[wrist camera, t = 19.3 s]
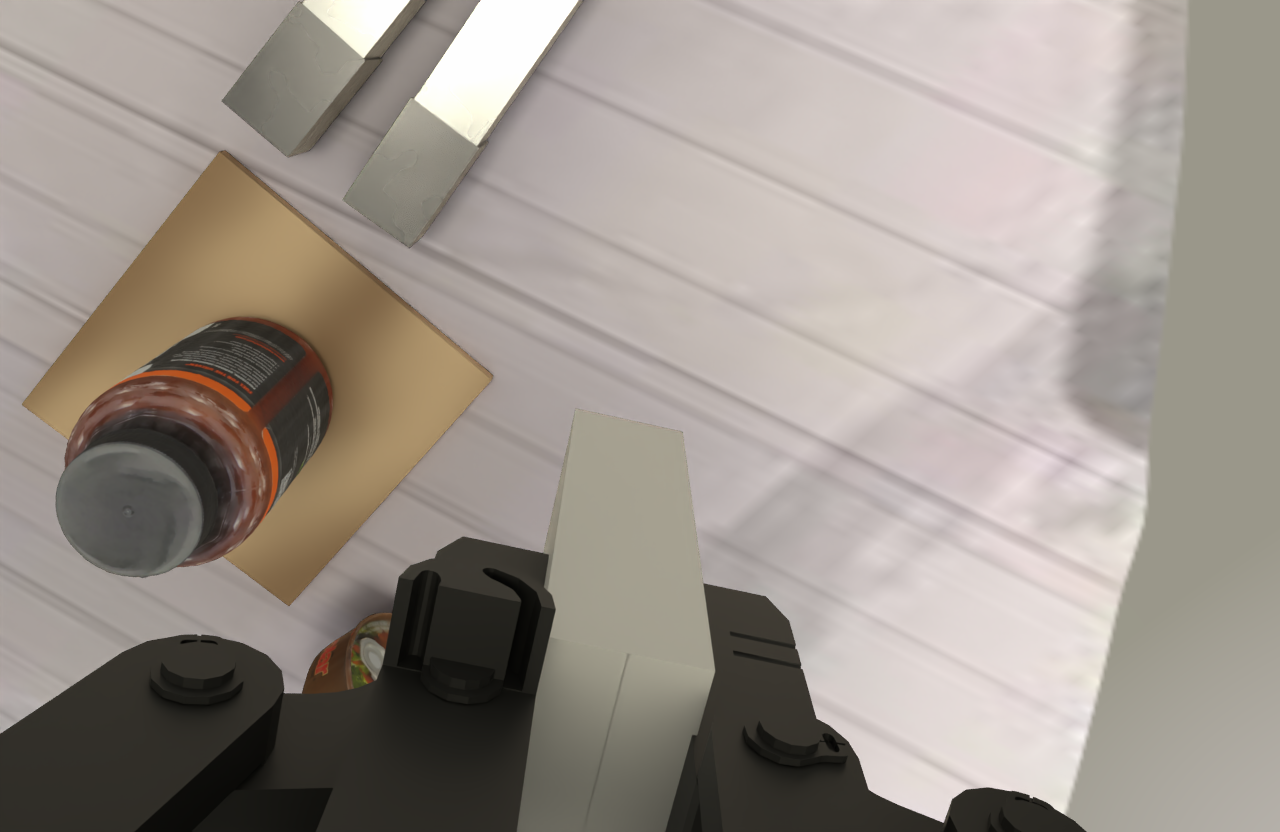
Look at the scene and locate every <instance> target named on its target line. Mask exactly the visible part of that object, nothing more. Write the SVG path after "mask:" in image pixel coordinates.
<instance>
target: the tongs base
mask: <svg viewBox="0 0 1280 832" xmlns="http://www.w3.org/2000/svg"><path fill="white" fill-rule="evenodd" d="M425 2H426V0H305V1H304V2H298V3H297V4H296V6H295V7H294V8H293V9H292V11H291V12H290V13H289V15H288V16H287V17H286V19H285V20H284V21H283V22H282V24H281V25H280V26H279V28H278V29H277V30H276V31H275V33H274V34H273V35H272V37H271V38H270V39H269V40H268V42H267V43H266V44H265V46H264V47H263V48H262V50H261V51H260V52H259V53H258V55H257V56H256V57H255V59H254V60H253V61H252V62H251V64H250V65H249V66H248V68H247V69H246V70H245V71H244V73H243V74H242V75H241V77H240V78H239V79H238V81H237V82H236V83H235V84H234V86H233V87H232V88H231V90H230V91H229V92H228V93H227V95H226V96H225V97H224V99H223V100H222V102H223V103H224V104H225V105H227V106H228V107H229V108H230V109H231V110H232V111H234V112H235V113H236V114H237V115H238V116H240V117H241V118H242V119H243V120H244V121H245V122H247V123H248V124H249V125H250V126H251V127H252V128H254V129H255V130H256V131H257V132H258V133H260V134H261V135H262V136H263V137H264V138H265V139H267V140H268V141H269V142H270V143H271V144H272V145H274V146H275V147H276V148H277V149H278V150H280V151H281V152H282V153H283V154H284V155H285V156H287V157H291V156H294V155H298V154H301V153H304V152H307V151H310V150H311V148H312V147H313V146H314V145H315V143H316V142H317V141H318V140H319V138H320V137H321V136H322V135H323V133H324V132H325V131H326V130H327V129H328V127H329V126H330V125H331V124H332V122H333V121H334V120H335V119H336V117H337V116H338V115H339V114H340V112H341V111H342V110H343V109H344V107H345V106H346V105H347V104H348V102H349V101H350V100H351V99H352V97H353V96H354V95H355V94H356V92H357V91H358V90H359V89H360V87H361V86H362V85H363V84H364V82H365V81H366V80H367V79H368V78H369V76H370V75H371V74H372V73H373V71H374V70H375V69H376V68H377V66H378V65H379V64H380V63H381V61H382V59H381V56H382V55H383V54H384V53H385V51H386V50H387V49H388V48H389V46H390V45H391V44H392V43H393V41H394V40H395V39H396V38H397V36H398V35H399V34H400V33H401V31H402V30H403V29H404V28H405V26H406V25H407V24H408V23H409V21H410V20H411V19H412V18H413V16H414V15H415V14H416V13H417V11H418V10H419V9H420V8H421V7H422V5H423V4H424V3H425Z"/></svg>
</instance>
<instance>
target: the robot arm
mask: <svg viewBox="0 0 1280 832" xmlns="http://www.w3.org/2000/svg"><path fill="white" fill-rule="evenodd" d="M795 646H796V644H795V640H794V637H793V633H792V630H791V626H790V622H789V620H788V619H787V618H786V617H785V616H784V615H783V614H782V613H781V612H780V611H779V610H778V609H777V608H776V607H775V606H774V605H773V603H772V602H771V601H770V600H769V599H768V598H767V597H766V596H761V595H756V594H751V593H747V592H742V591H737V590H732V589H728V588H723V587H718V586H713V585H708V584H704V583H703V578H702V571H701V563H700V556H699V549H698V541H697V534H696V527H695V520H694V512H693V505H692V498H691V490H690V483H689V476H688V468H687V461H686V454H685V447H684V439H683V432H681V431H676V430H672V429H667V428H663V427H658V426H654V425H649V424H644V423H640V422H635V421H631V420H626V419H622V418H617V417H612V416H608V415H603V414H599V413H594V412H590V411H585V410H580V409H575V414H574V418H573V423H572V427H571V432H570V436H569V441H568V445H567V449H566V454H565V458H564V463H563V467H562V472H561V476H560V480H559V485H558V489H557V494H556V498H555V503H554V507H553V512H552V516H551V520H550V525H549V529H548V534H547V538H546V543H545V547H544V551H543V553H539V552H534V551H530V550H525V549H520V548H515V547H510V546H506V545H501V544H496V543H491V542H487V541H482V540H477V539H472V538H467V537H461V538H460V539H458V540H456V541H454V542H453V543H451V544H449V545H448V546H446V547H444V548H442V549H441V550H439V551H438V552H437V554H436V557H435V559H429V560H426V561H423V562H420V563H417V564H414V565H411V566H410V567H409V568H408V569H407V570H406V571H405V572H404V573H403V574H402V575H401V576H400V577H399V579H398V585H397V590H396V595H395V601H394V606H393V611H392V616H391V622H390V627H389V632H388V638H387V643H386V648H385V654H384V659H383V664H382V667H381V670H380V672H379V675H378V677H377V680H375V681H373V682H371V683H368V684H366V685H363V686H361V687H358V688H354V689H349V690H345V691H340V692H332V693H315V694H285V693H284V683H283V677H282V671H281V670H280V669H279V667H278V666H277V665H276V664H275V663H274V662H273V661H272V660H271V659H270V658H269V657H268V656H267V655H266V654H264V653H262V652H260V651H258V650H256V649H254V648H252V647H249V646H247V645H245V644H243V643H240V642H235V641H231V640H226V639H222V638H220V637H217V636H209V635H201V636H197V635H179V636H174V637H168V638H162V639H157V640H151V641H147V642H144V643H142V644H140V645H138V646H136V647H133V648H131V649H129V650H127V651H124V652H122V653H121V654H119V655H118V656H116V657H115V658H113V659H112V660H110V661H109V662H107V663H106V664H104V665H103V666H101V667H100V668H98V669H97V670H95V671H94V672H92V673H91V674H89V675H88V676H86V677H85V678H83V679H82V680H80V681H79V682H77V683H76V684H74V685H73V686H71V687H70V688H68V689H67V690H65V691H64V692H62V693H61V694H59V695H58V696H56V697H55V698H53V699H52V700H50V701H49V702H47V703H46V704H44V705H43V706H41V707H40V708H38V709H37V710H35V711H34V712H32V713H31V714H29V715H28V716H26V717H25V718H23V719H22V720H20V721H19V722H17V723H16V724H14V725H13V726H11V727H10V728H8V729H7V730H5V731H4V732H3V733H1V734H0V832H1086V831H1085V830H1084V829H1083V828H1082V827H1080V826H1079V825H1078V824H1077V823H1076V822H1075V821H1074V820H1072V819H1070V818H1068V817H1067V816H1065V815H1064V814H1062V813H1060V812H1059V811H1057V810H1055V809H1054V808H1053V807H1052V806H1051V805H1050V804H1048V803H1046V802H1044V801H1042V800H1039V799H1037V798H1035V797H1033V799H1032V798H1030V797H1029V795H1026V794H1023V793H1020V792H1016V791H1005V790H1000V789H994V788H978V789H969V790H965V791H963V792H962V793H961V794H959V795H958V796H956V797H955V798H953V799H952V801H951V804H950V807H949V810H948V813H947V815H946V818H945V821H944V823H942V822H940V821H937V820H935V819H932V818H930V817H927V816H925V815H922V814H920V813H917V812H915V811H912V810H910V809H907V808H905V807H902V806H899V805H897V804H895V803H893V802H891V801H889V800H887V799H884V798H882V797H880V796H878V795H876V794H874V793H873V792H871V791H870V790H868V787H867V783H866V780H865V777H864V774H863V771H862V768H861V765H860V761H859V758H858V757H857V755H856V754H855V752H854V750H853V749H852V747H851V745H850V744H849V742H848V741H847V740H846V739H845V738H843V737H842V736H841V735H840V734H839V733H837V732H836V731H835V730H834V729H833V728H831V727H830V726H829V725H827V724H825V723H824V722H822V721H820V720H818V719H816V716H815V712H814V709H813V705H812V701H811V698H810V694H809V691H808V687H807V683H806V680H805V676H804V673H803V669H800V668H801V662H800V658H799V655H798V651H797V649H795Z"/></svg>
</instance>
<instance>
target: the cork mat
mask: <svg viewBox="0 0 1280 832" xmlns="http://www.w3.org/2000/svg"><path fill="white" fill-rule="evenodd" d="M232 317H254V318H259V319H264V320H267V321H271V322H273V323H276V324H279V325H281V326H283V327H285V328H287V329H288V330H290V331H292V332H293V333H295V334H296V335H298V336H299V337H301V338H302V339H303V340H304V341H305V342H306V343H307V344H308V345H309V346H310V347H311V348H312V350H313V351H314V352H315V353H316V355H317V356H318V358H319V359H320V361H321V362H322V364H323V366H324V368H325V370H326V372H327V375H328V377H329V380H330V384H331V388H332V394H333V409H332V415H331V421H330V424H329V428H328V430H327V432H326V435H325V436H324V438H323V440H322V442H321V444H320V445H319V447H318V448H317V450H316V451H315V453H314V454H313V456H312V457H311V458H310V459H309V460H308V462H307V463H306V465H305V466H304V467H303V468H302V470H301V471H300V473H299V474H298V475H297V476H296V478H295V479H294V480H293V481H292V483H291V484H290V485H289V487H288V488H287V490H286V491H285V492H284V493H283V495H282V496H281V497H280V498H279V500H278V501H277V503H276V504H275V505H274V507H273V508H272V509H271V510H270V512H269V513H268V514H267V515H266V517H265V518H264V519H263V520H262V522H261V523H260V524H259V525H258V527H257V528H256V529H255V530H254V532H253V533H252V534H251V535H250V536H249V537H248V538H247V539H246V540H245V541H244V542H243V543H242V544H240V545H239V546H238V547H236V548H235V549H233V550H232V551H231V552H229V553H228V554H226V555H224V556H223V557H224V558H226V559H227V560H228V561H230V562H231V563H232V564H233V565H235V566H236V567H237V568H239V569H240V570H241V571H243V572H244V573H245V574H247V575H248V576H249V577H251V578H252V579H253V580H255V581H256V582H257V583H259V584H260V585H261V586H263V587H264V588H265V589H267V590H268V591H269V592H271V593H272V594H273V595H275V596H276V597H277V598H279V599H280V600H281V601H282V602H284V603H285V604H286V605H288V606H290V605H291V603H292V602H293V601H294V600H295V599H296V598H297V597H298V596H299V594H300V593H301V592H302V591H303V590H304V589H305V588H306V587H307V586H308V584H309V583H310V582H311V581H312V580H313V579H314V578H315V577H316V576H317V574H318V573H319V572H320V571H321V570H322V569H323V568H324V567H325V565H326V564H327V563H328V562H329V561H330V560H331V559H332V558H333V557H334V555H335V554H336V553H337V552H338V551H339V550H340V549H341V548H342V546H343V545H344V544H345V543H346V542H347V541H348V540H349V539H350V538H351V536H352V535H353V534H354V533H355V532H356V531H357V530H358V529H359V528H360V526H361V525H362V524H363V523H364V522H365V521H366V520H367V519H368V517H369V516H370V515H371V514H372V513H373V512H374V511H375V510H376V509H377V507H378V506H379V505H380V504H381V503H382V502H383V501H384V500H385V498H386V497H387V496H388V495H389V494H390V493H391V492H392V491H393V490H394V488H395V487H396V486H397V485H398V484H399V483H400V482H401V481H402V479H403V478H404V477H405V476H406V475H407V474H408V473H409V472H410V471H411V469H412V468H413V467H414V466H415V465H416V464H417V463H418V462H419V461H420V459H421V458H422V457H423V456H424V455H425V454H426V453H427V452H428V450H429V449H430V448H431V447H432V446H433V445H434V444H435V443H436V442H437V440H438V439H439V438H440V437H441V436H442V435H443V434H444V433H445V431H446V430H447V429H448V428H449V427H450V426H451V425H452V424H453V423H454V421H455V420H456V419H457V418H458V417H459V416H460V415H461V414H462V413H463V411H464V410H465V409H466V408H467V407H468V406H469V405H470V404H471V402H472V401H473V400H474V399H475V398H476V397H477V396H478V395H479V394H480V392H481V391H482V390H483V389H484V388H485V387H486V386H487V385H488V383H489V382H490V381H491V380H492V378H493V375H492V374H491V373H489V372H488V371H487V370H486V369H485V368H483V367H482V366H481V365H480V364H479V363H477V362H476V361H475V360H474V359H473V358H471V357H470V356H469V355H468V354H467V353H466V352H464V351H463V350H462V349H461V348H460V347H458V346H457V345H456V344H455V343H454V342H452V341H451V340H450V339H449V338H448V337H447V336H445V335H444V334H443V333H442V332H441V331H439V330H438V329H437V328H436V327H435V326H433V325H432V324H431V323H430V322H429V321H427V320H426V319H425V318H424V317H423V316H422V315H420V314H419V313H418V312H417V311H416V310H414V309H413V308H412V307H411V306H410V305H408V304H407V303H406V302H405V301H404V300H402V299H401V298H400V297H399V296H398V295H397V294H395V293H394V292H393V291H392V290H391V289H389V288H388V287H387V286H386V285H385V284H383V283H382V282H381V281H380V280H379V279H378V278H376V277H375V276H374V275H373V274H372V273H370V272H369V271H368V270H367V269H366V268H364V267H363V266H362V265H361V264H360V263H358V262H357V261H356V260H355V259H354V258H353V257H351V256H350V255H349V254H348V253H347V252H345V251H344V250H343V249H342V248H341V247H339V246H338V245H337V244H336V243H335V242H334V241H332V240H331V239H330V238H329V237H328V236H326V235H325V234H324V233H323V232H322V231H320V230H319V229H318V228H317V227H316V226H314V225H313V224H312V223H311V222H310V221H309V220H307V219H306V218H305V217H304V216H303V215H301V214H300V213H299V212H298V211H297V210H295V209H294V208H293V207H292V206H291V205H289V204H288V203H287V202H286V201H285V200H284V199H282V198H281V197H280V196H279V195H278V194H276V193H275V192H274V191H273V190H272V189H270V188H269V187H268V186H267V185H266V184H265V183H263V182H262V181H261V180H260V179H259V178H257V177H256V176H255V175H254V174H253V173H251V172H250V171H249V170H248V169H247V168H245V167H244V166H243V165H242V164H241V163H240V162H238V161H237V160H236V159H235V158H234V157H232V156H231V155H230V154H229V153H228V152H226V151H221V152H219V153H218V154H217V156H216V157H215V158H214V159H213V161H212V162H211V163H210V165H209V166H208V167H207V168H206V170H205V171H204V172H203V173H202V175H201V176H200V177H199V179H198V180H197V181H196V182H195V184H194V185H193V186H192V188H191V189H190V190H189V191H188V193H187V194H186V195H185V196H184V198H183V199H182V200H181V202H180V203H179V204H178V205H177V207H176V208H175V209H174V211H173V212H172V213H171V214H170V216H169V217H168V218H167V219H166V221H165V222H164V223H163V225H162V226H161V227H160V228H159V230H158V231H157V232H156V234H155V235H154V236H153V237H152V239H151V240H150V241H149V242H148V244H147V245H146V246H145V248H144V249H143V250H142V251H141V253H140V254H139V255H138V257H137V258H136V259H135V260H134V262H133V263H132V264H131V265H130V267H129V268H128V269H127V271H126V272H125V273H124V274H123V276H122V277H121V278H120V280H119V281H118V282H117V283H116V285H115V286H114V287H113V288H112V290H111V291H110V292H109V294H108V295H107V296H106V297H105V299H104V300H103V301H102V303H101V304H100V305H99V306H98V308H97V309H96V310H95V311H94V313H93V314H92V315H91V317H90V318H89V319H88V320H87V322H86V323H85V324H84V326H83V327H82V328H81V329H80V331H79V332H78V333H77V334H76V336H75V337H74V338H73V340H72V341H71V342H70V343H69V345H68V346H67V347H66V349H65V350H64V351H63V352H62V354H61V355H60V356H59V357H58V359H57V360H56V361H55V363H54V364H53V365H52V366H51V368H50V369H49V370H48V372H47V373H46V374H45V375H44V377H43V378H42V379H41V380H40V382H39V383H38V384H37V386H36V387H35V388H34V389H33V391H32V392H31V393H30V395H29V396H28V397H27V398H26V400H25V401H24V402H23V403H22V405H23V406H24V407H26V408H27V409H28V410H30V411H31V412H32V413H33V414H35V415H36V416H37V417H39V418H40V419H41V420H43V421H44V422H45V423H47V424H48V425H49V426H51V427H52V428H53V429H55V430H56V431H57V432H59V433H60V434H61V435H63V436H64V437H65V438H67V439H68V440H69V437H70V435H71V432H72V430H73V428H74V426H75V425H76V423H77V422H78V420H79V418H80V416H81V415H82V413H83V412H84V411H85V410H86V408H87V407H88V406H89V405H90V404H91V403H92V402H93V401H94V400H95V399H96V398H98V397H99V396H100V395H101V394H103V393H104V392H105V391H107V390H108V389H110V388H111V387H113V386H114V385H115V384H117V383H118V382H120V381H121V380H123V379H124V378H126V377H127V376H129V375H130V374H132V373H133V372H134V371H136V370H138V369H139V368H140V367H142V366H144V365H145V364H147V363H148V362H149V361H151V360H152V359H154V358H155V357H157V356H158V355H160V354H161V353H163V352H164V351H166V350H167V349H169V348H170V347H172V346H173V345H174V344H176V343H178V342H179V341H181V340H182V339H184V338H185V337H187V336H188V335H189V334H191V333H193V332H194V331H196V330H197V329H199V328H201V327H204V326H206V325H208V324H210V323H212V322H216V321H218V320H223V319H227V318H232Z"/></svg>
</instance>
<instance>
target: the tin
mask: <svg viewBox="0 0 1280 832" xmlns="http://www.w3.org/2000/svg"><path fill="white" fill-rule="evenodd" d="M391 616H392V613H377V614H373V615H370V616H368V617H367V618H365V619H363V620H362V621H361V622H360V623H359V624H358V625H357V626H356V628H354V629H353V630H351V631H350V632H348V633H347V634H345V635H343V636H342V637H340V638H338V639H337V640H335V641H334V642H332V643H331V644H330V645H329V646H327V647H326V648H325V649H323V650H322V651H321V652H320V653H319V654H318V655H317V656H316V658H315V659H314V661H313V663H312V664H311V667H310V669H309V671H308V674H307V677H306V681H305V684H304V688H303V691H302V694H315V693H332V692H340V691H345V690H349V689H354V688H358V687H361V686H363V685H366V684H368V683H371V682H373V681H375V680H377V677H378V675H379V672H380V670H381V667H382V664H383V659H384V654H385V648H386V643H387V638H388V632H389V627H390V622H391Z"/></svg>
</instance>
